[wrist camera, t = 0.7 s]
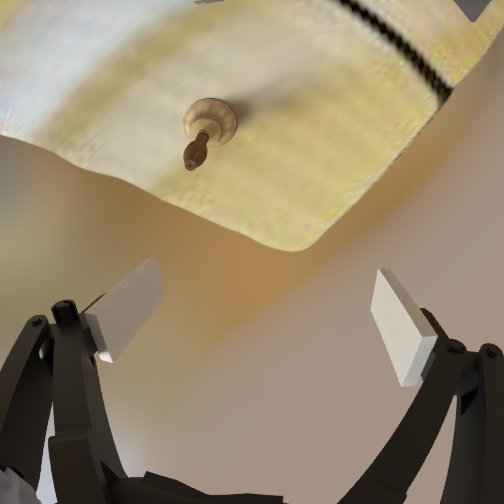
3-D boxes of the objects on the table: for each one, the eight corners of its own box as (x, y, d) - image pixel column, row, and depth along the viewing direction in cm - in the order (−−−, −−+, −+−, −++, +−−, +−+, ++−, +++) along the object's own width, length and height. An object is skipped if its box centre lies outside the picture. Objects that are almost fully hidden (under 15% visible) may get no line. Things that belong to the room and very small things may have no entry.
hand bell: (228, 92, 35) (214, 118, 23) (242, 140, 41) (236, 190, 29) (176, 107, 36) (138, 142, 25) (192, 152, 42) (167, 206, 30)
